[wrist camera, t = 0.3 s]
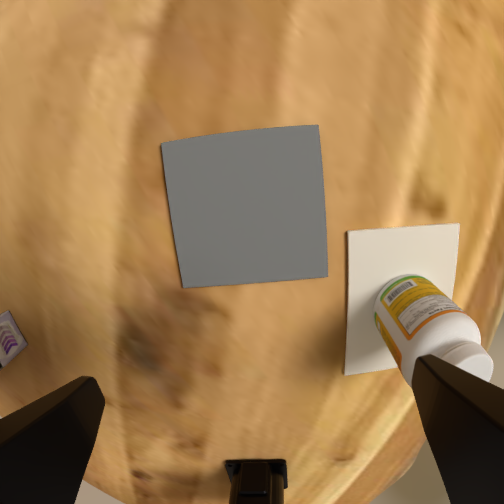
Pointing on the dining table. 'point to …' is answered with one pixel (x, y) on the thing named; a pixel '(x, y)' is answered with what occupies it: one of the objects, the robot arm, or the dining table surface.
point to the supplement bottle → (428, 327)
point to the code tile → (384, 271)
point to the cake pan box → (9, 339)
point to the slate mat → (248, 206)
